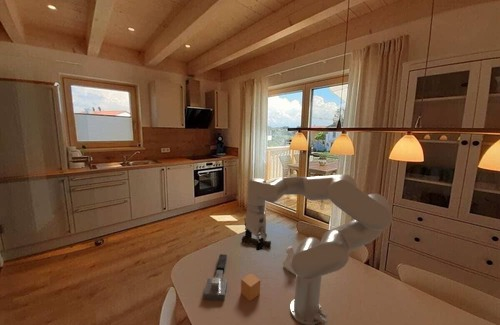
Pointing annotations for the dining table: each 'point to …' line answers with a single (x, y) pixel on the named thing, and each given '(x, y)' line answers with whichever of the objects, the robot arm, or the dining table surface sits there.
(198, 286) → the dining table surface
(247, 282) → the orange cube
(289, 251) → the seated beast figurine
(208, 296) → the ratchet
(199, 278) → the dining table surface
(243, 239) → the hand tool
